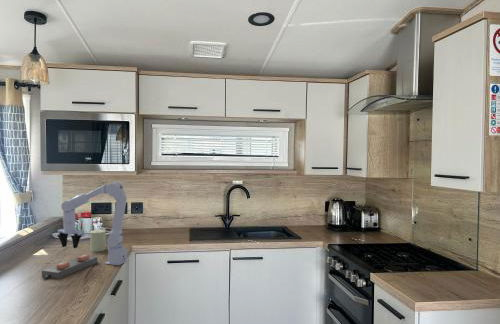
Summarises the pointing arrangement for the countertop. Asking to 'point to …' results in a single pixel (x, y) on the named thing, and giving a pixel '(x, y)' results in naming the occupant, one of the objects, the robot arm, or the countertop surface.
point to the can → (97, 240)
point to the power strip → (68, 268)
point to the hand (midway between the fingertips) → (69, 247)
